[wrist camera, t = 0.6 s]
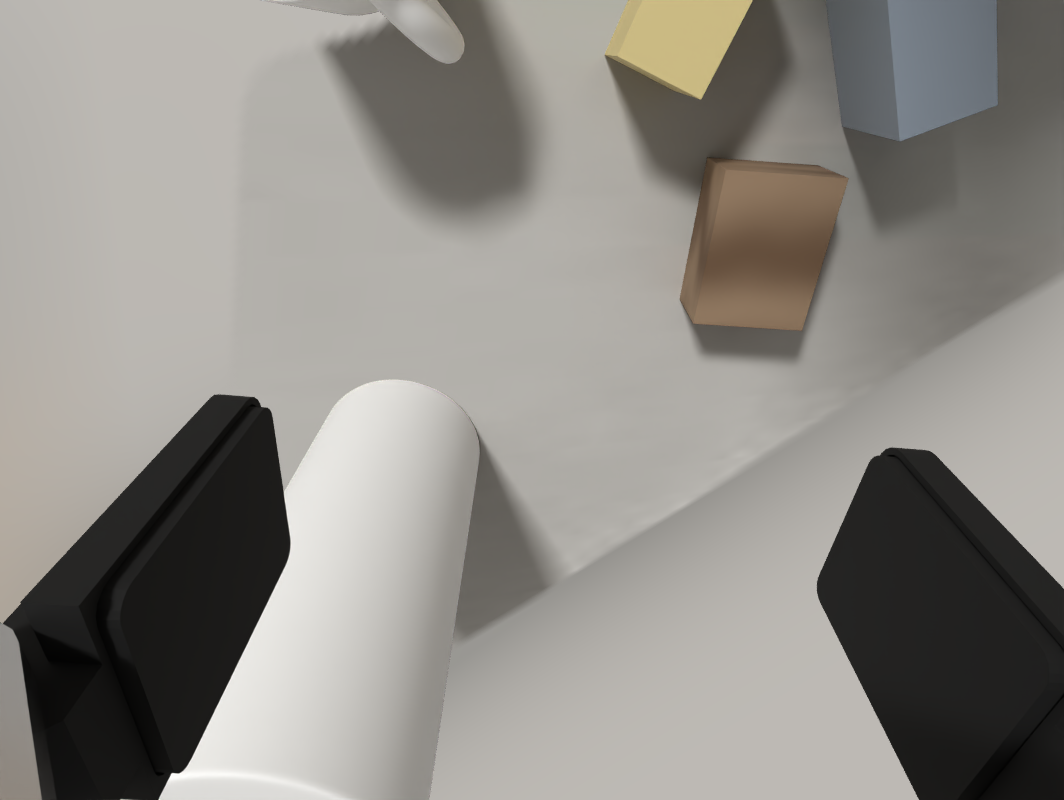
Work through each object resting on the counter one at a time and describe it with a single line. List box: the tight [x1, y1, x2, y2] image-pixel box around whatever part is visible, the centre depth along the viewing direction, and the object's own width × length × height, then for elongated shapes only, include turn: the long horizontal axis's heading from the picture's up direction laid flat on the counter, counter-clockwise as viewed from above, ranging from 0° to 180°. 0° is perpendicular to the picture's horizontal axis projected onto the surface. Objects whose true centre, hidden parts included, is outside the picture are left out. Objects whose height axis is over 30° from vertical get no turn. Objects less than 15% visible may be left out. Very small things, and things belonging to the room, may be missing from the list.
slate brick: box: [826, 0, 998, 142], centre depth 28 cm, size 7×4×6 cm, turn 21°
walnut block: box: [680, 157, 849, 331], centre depth 33 cm, size 8×6×4 cm
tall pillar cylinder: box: [120, 380, 480, 800], centre depth 32 cm, size 11×11×25 cm
